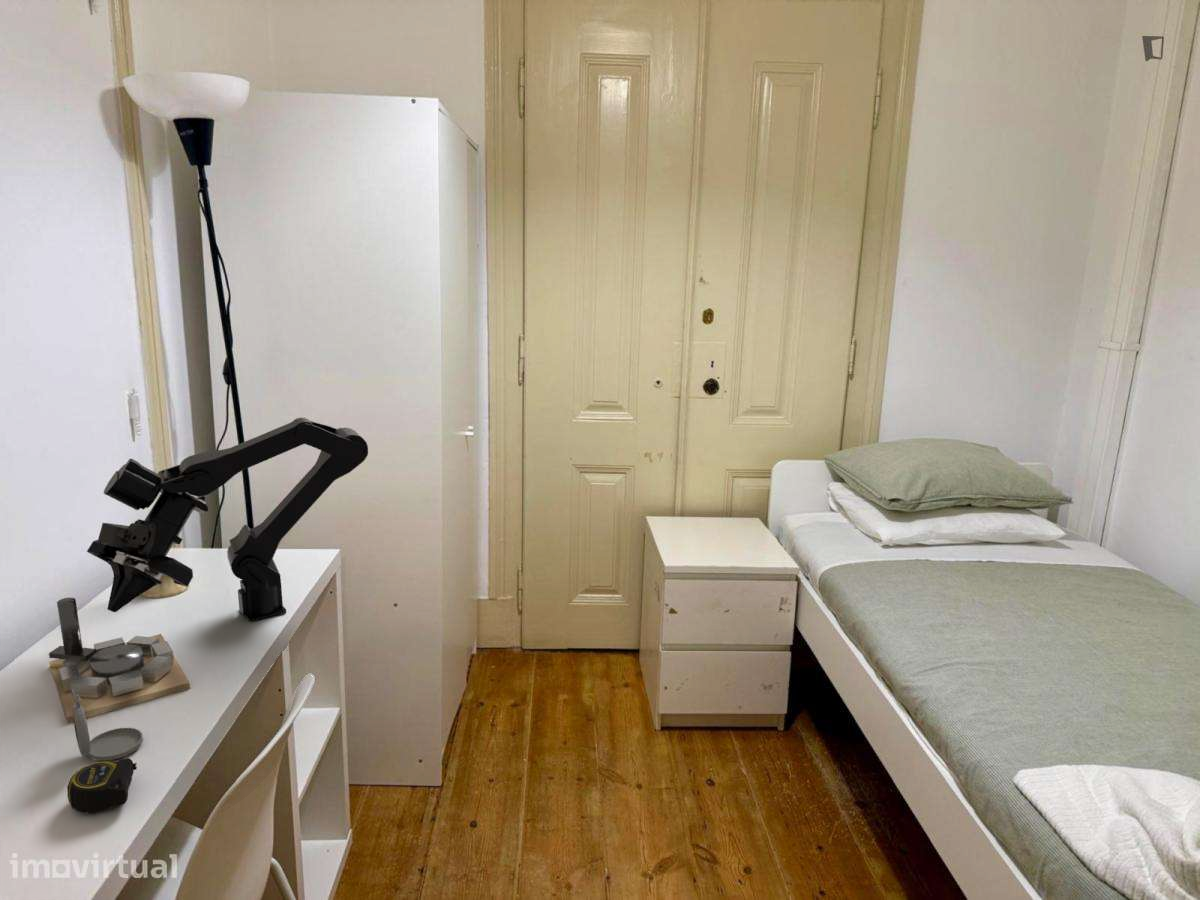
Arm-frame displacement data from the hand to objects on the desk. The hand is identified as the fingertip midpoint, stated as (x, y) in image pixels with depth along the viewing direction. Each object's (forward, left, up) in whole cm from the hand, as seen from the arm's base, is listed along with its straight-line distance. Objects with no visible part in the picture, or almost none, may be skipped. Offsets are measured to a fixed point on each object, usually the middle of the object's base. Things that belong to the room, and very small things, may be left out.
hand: (111, 610), depth 135 cm
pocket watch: (+6, +26, -8) cm, 28 cm away
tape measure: (+7, +37, -9) cm, 39 cm away
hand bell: (-12, -24, -9) cm, 28 cm away
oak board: (+1, +7, -8) cm, 11 cm away
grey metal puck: (+1, +7, -8) cm, 11 cm away
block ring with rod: (+2, +6, -7) cm, 10 cm away
